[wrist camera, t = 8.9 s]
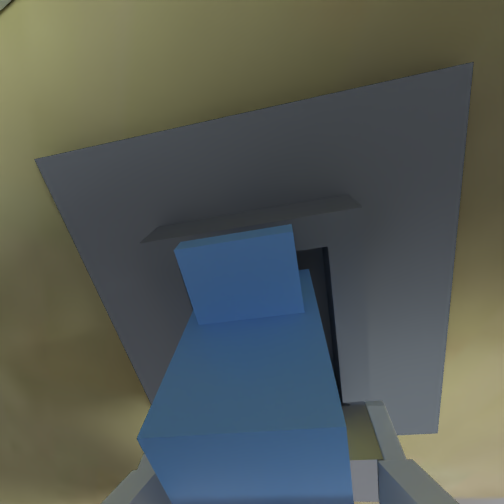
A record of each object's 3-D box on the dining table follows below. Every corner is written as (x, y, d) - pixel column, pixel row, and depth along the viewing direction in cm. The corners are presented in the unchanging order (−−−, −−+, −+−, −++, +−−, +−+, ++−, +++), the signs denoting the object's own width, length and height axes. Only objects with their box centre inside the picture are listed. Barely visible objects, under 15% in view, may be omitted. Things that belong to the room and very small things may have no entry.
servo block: (300, 203, 9) (352, 363, 3) (330, 436, 14) (377, 692, 8) (186, 222, 10) (35, 391, 4) (252, 440, 15) (234, 681, 8)
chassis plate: (455, 67, 10) (520, 47, 7) (428, 416, 17) (457, 470, 14) (52, 156, 12) (-10, 165, 10) (175, 431, 19) (160, 480, 17)
